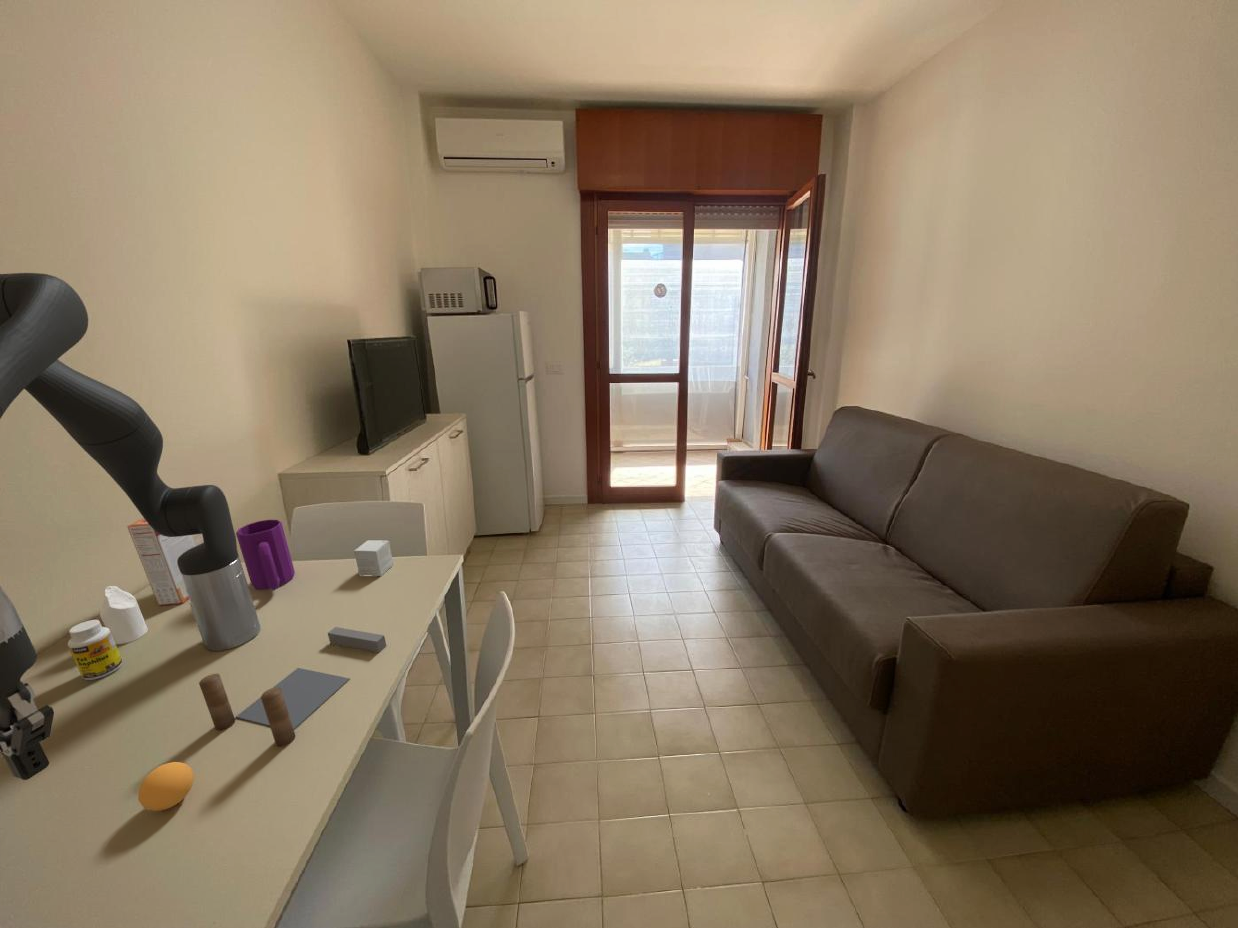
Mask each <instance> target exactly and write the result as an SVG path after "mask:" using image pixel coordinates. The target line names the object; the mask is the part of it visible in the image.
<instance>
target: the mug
mask: <svg viewBox="0 0 1238 928" xmlns="http://www.w3.org/2000/svg"><path fill="white" fill-rule="evenodd" d="M235 536H236V539H237V542H238V544H239V548H240V551H241V555H242V557H243V561H244V564H245V568H246V571H247V573H248V574H247V575H248V578H249V581H250V584H251V586H252V587H253V588H254V589H255V590H272V591H274V590H275V591H276V590H277V589H278V588H279V587H280V586H283V585H285V584H287V583H288V582H289V581H291V580H292V579H294V576H295V574H296V571H295V567H294V564H293V561H292V557H291V553H290V549H289V544H288V541H287V538H286V534H285V530H284V527H283V523H282V521H280V520H279V519H264V520H258V521H254V522H251V523H248V524H246V525H244V526H242V527H240V528H238V530H236V532H235Z"/></svg>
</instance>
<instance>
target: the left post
mask: <svg viewBox="0 0 1238 928" xmlns="http://www.w3.org/2000/svg"><path fill="white" fill-rule="evenodd" d="M198 684H199V688H200V690H201V693H202V695H203V698H204V701H205V703H206V707H207V709H208V711H209V715H210V717H211V720H212V723H213V726H214V729H215V731H217V732H220V731H221V732H222V731H225V730H226V729H229V728H230V727H232V726H233V725H234V724H235V722H236V717H235V715H234V712H233V710H232V706H231V704H230V701H229V697H228V694H227V692H226V689H225V687H224V684H223V681H222V677H221V675H220V674H219V673H211V674H209V675H207V676H205V677H203V678H202V679H201V680H199V682H198Z"/></svg>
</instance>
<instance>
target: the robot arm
mask: <svg viewBox="0 0 1238 928" xmlns="http://www.w3.org/2000/svg"><path fill="white" fill-rule="evenodd" d="M88 315H89V314H88V312H87V308H86V306H85V303H84V302H83V300H82V298H81V296H80V295H79V294H78V292H77V291H76V290H75V289H74V288H73V287H72V286H71V285H70V284H69V283H68V282H66V281H65V280H63V279H61V278H59V277H57V276H55V275H52V274H47V273H37V272H18V273H17V272H15V273H13V272H12V273H0V420H1V419H2V417H3V416H4V414H5V412H6V411H7V410H8V408H9V407H10V405H11V404H12V403H13V402H14V400H16V398H17V397H18V396H19V395H20V394H21V393H22V392H23V391H24V390H25V391H26V392H27V393H28V394H29V395H30V396H31V397H33V399H35V401H36V402H38V403H39V404H40V405H41V406H42V407H43V408H44V409H45V410H46V411H47V413H49V414H50V415H51V416H52V417H53V418H54V419H55V420H56V421H57V422H58V424H60V425H61V426H62V428H64V430H65V431H66V433H68V434H69V436H70V437H71V438H72V439H73V440H74V441H75V443H77V444H78V445H79V446H80V447H81V448H82V450H84V451H85V452H86V453H87V454H88V455H89V456H90V457H91V458H92V459H93V460H94V461H95V462H96V463H97V464H98V465H99V466H100V467H101V468H102V469H103V470H104V471H105V472H106V473H107V474H108V475H109V477H110V478H111V479H112V480H114V482H115V483H116V484H117V485H118V486H119V488H121V490H122V491H123V492H124V494H126V496H128V498H129V499H130V501H131V502H132V504H133V505H134V507H135V508H136V509H137V511H138V512H139V513H140V515H141V516H142V518H144V519H145V520H146V521H147V523H148V524H149V525H150V526H151V527H152V528H153V529H154V530H155V531H156V532H157V533H159V534H161V535H163V536H166V537H179V536H188V535H195V534H202V535H203V541H204V543H202V544H200V545H198V546H195V547H193V548H191V549H189V550H187V551H186V552H184V553H183V554H182V555H180V556H179V558H178V560H177V564H178V567H179V570H180V572H181V575H182V578H183V581H184V584H185V587H186V589H187V592H188V595H189V600H190V603H189V605H190V608H191V611H192V614H193V617H194V619H195V623H196V625H197V628H198V631H199V635H200V638H201V640H202V642H203V643H204V644H205V647H206V649H207V650H209V651H216V652H218V651H225V650H226V651H227V650H230V649H233V648H236V647H239V646H242V645H243V644H246V643H247V642H249V641H251V640H252V639H253V638H254V637H256V636H257V635H258V634H259V633H260V631H261V624H260V622H259V618H258V615H257V611H256V607H255V605H254V604H255V603H254V600H253V597H252V594H251V591H250V587H249V585H248V580H247V578H246V574H245V571H244V568H243V566H242V562H241V559H240V555H239V552H238V546H237V535H236V532H235V528H234V525H233V522H232V517H231V512H230V507H229V503H228V500H227V498H226V495H225V493H224V491H223V490H222V489H221V487H219V486H217V485H214V484H202V485H196V486H194V485H193V486H185V487H175V488H174V487H170V486H169V485H167V484H166V483H165V482H164V481H163V480H162V479H161V477H160V475H159V474H158V468H159V464H160V461H161V457H162V454H163V448H164V438H163V435H162V432H161V431H160V429H159V427H158V426H157V425H156V424H155V422H154V420H153V419H152V418H151V417H150V416H149V414H148V413H147V412H146V411H145V410H144V409H143V407H142V406H141V405H140V404H139V402H137V401H136V400H135V399H133V398H132V397H130V396H128V395H126V394H125V393H123V392H121V391H119V390H117V388H116V389H115V388H113V387H112V386H109V385H108V384H105V383H103V382H101V381H98V380H97V379H94V378H92V377H89V376H87V375H85V374H83V373H82V372H79V371H77V370H75V369H74V368H72V367H70V366H68V364H67V365H66V364H65V363H64V362H62V361H61V360H59V359H60V358H61V357H62V356H63V355H65V354H66V353H67V352H69V351H70V350H71V349H72V348H73V347H74V346H76V345H77V344H78V343H79V342H81V340H82V338H83V337H84V336H85V335H86V333H87V331H88V328H89V316H88ZM37 659H38V653H37V652H36V649H35V647H34V645H33V643H32V641H31V639H30V636H29V635H28V633H27V630H26V628H25V625H24V624H23V622H22V619H21V617H20V615H19V614H18V611H17V608H16V606H15V604H14V603H13V601H12V599H11V598H10V597H9V596H8V595H7V593H6V592H5V591H4V589H3V588H2V586H1V585H0V754H1V755H2V757H3V759H4V760H5V763H6V764H7V767H8V768H9V770H10V771H11V774H12V775H13V777H14V778H17V779H20V780H23V781H28V780H29V779H31V778H33V777H34V776H36V775H38V774H39V773H41V772H42V771H44V770H45V769H47V768H48V766H49V765H50V761H49V759H48V757H47V755H46V753H45V750H44V749H43V747H42V744H41V743H40V742H42V741H45V740H46V739H48V738H49V737H50V736H51V731H52V725H53V722H54V716H55V715H54V714H55V711H54V708H53V707H52V706H50V705H48V704H46V705H44V706H43V707H41V708H39V709H38V707H37V705H36V703H35V700H34V698H35V692H34V690H33V688H32V686H31V685H30V684H29V683H27V682H24V683H23V681H21V678H22V677H23V676H24V674H25V673H26V672H28V670H29V669H31V668H32V667H33V666H34V664H35V663H36V662H37Z"/></svg>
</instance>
